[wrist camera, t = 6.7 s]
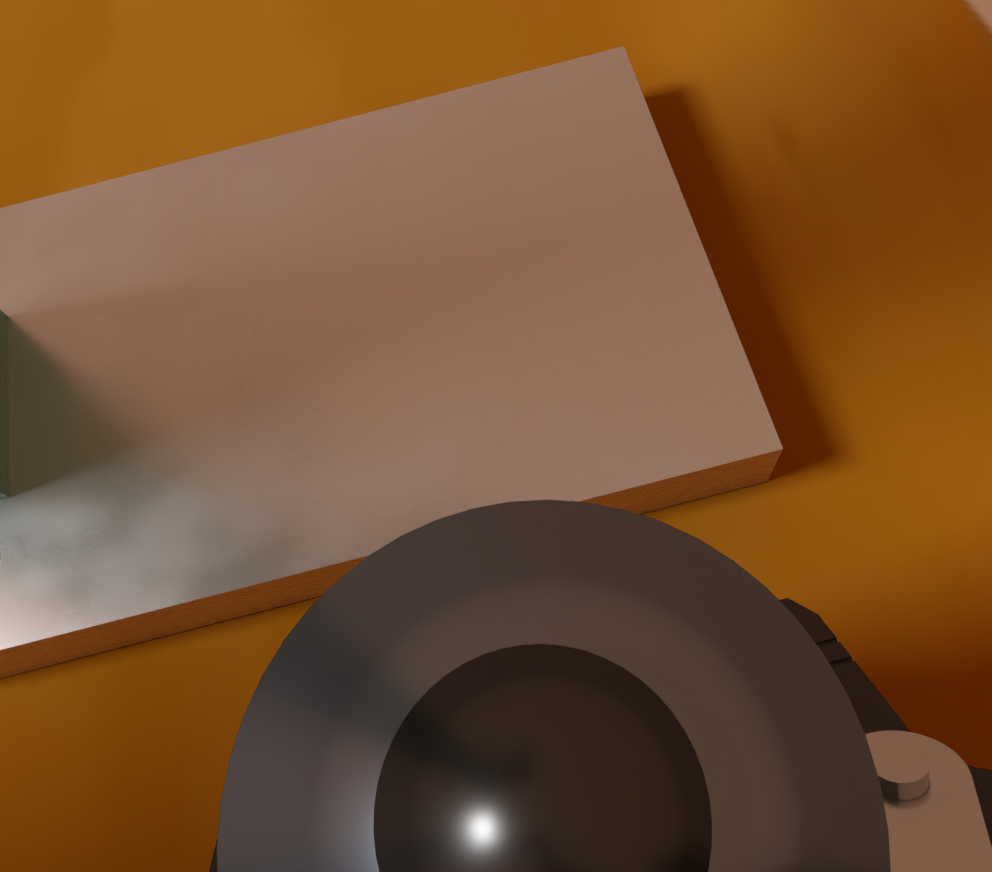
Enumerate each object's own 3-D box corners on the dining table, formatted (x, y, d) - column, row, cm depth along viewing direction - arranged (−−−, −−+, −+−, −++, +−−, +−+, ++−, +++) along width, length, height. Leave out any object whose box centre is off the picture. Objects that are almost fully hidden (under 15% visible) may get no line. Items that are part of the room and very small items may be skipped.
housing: (458, 1020, 15) (233, 1355, 5) (404, 712, 17) (170, 565, 7) (754, 947, 15) (1043, 1152, 5) (664, 648, 17) (762, 420, 8)
